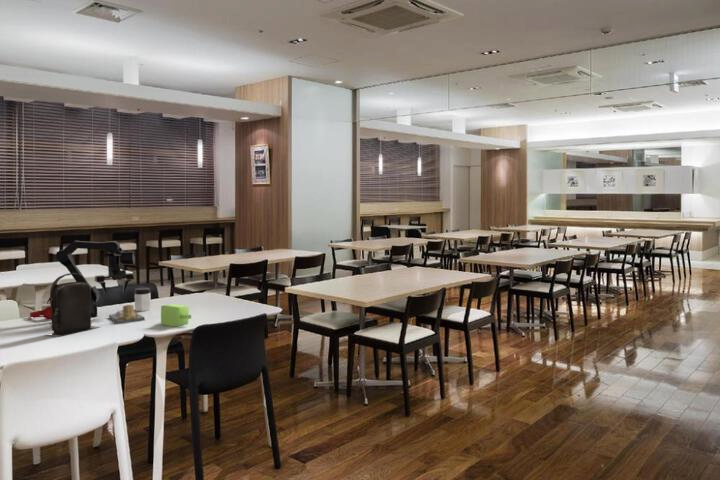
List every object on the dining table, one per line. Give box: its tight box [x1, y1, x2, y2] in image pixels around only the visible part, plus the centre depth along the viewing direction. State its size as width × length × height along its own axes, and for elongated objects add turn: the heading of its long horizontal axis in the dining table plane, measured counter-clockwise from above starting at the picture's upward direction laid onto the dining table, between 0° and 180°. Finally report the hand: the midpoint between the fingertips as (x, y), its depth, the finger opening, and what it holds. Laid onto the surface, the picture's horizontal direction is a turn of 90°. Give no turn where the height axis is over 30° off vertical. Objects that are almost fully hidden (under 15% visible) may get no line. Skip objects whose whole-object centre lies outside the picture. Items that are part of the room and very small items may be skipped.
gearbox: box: [160, 303, 192, 327], centre depth 288 cm, size 18×10×10 cm, turn 59°
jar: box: [134, 287, 152, 312], centre depth 324 cm, size 9×8×12 cm
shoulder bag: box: [46, 272, 101, 338], centre depth 274 cm, size 23×9×28 cm, turn 148°
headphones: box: [29, 305, 51, 320], centre depth 307 cm, size 15×7×20 cm
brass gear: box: [119, 304, 139, 319], centre depth 297 cm, size 9×9×6 cm
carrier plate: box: [108, 309, 146, 325], centre depth 300 cm, size 13×18×6 cm
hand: (114, 293), depth 309 cm, fingers open, 9 cm apart
